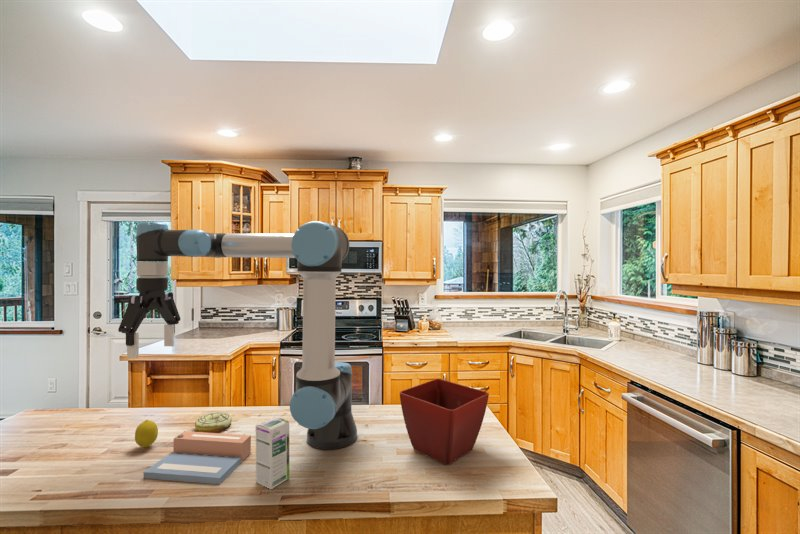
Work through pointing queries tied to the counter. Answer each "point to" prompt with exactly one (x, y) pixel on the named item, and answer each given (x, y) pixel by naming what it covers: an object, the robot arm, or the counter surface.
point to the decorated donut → (213, 422)
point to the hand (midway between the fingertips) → (152, 351)
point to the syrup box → (272, 452)
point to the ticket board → (193, 467)
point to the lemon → (146, 433)
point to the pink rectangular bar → (213, 444)
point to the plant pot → (443, 418)
